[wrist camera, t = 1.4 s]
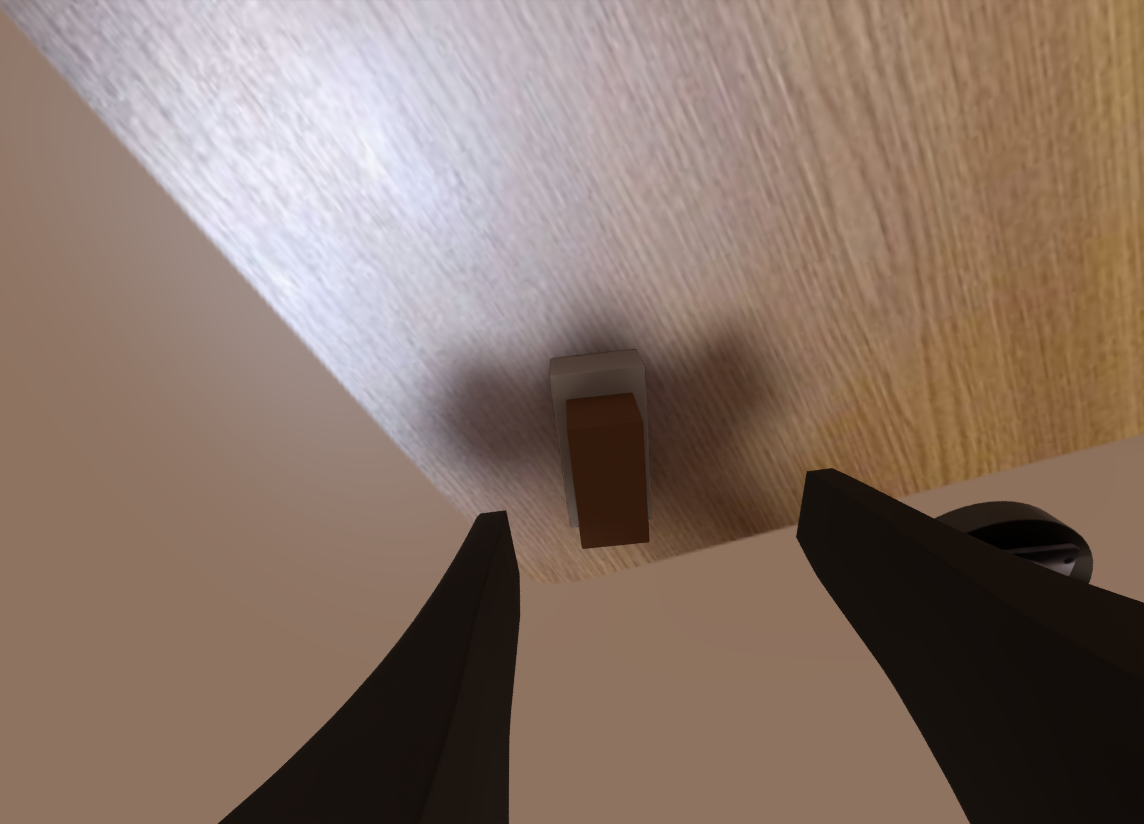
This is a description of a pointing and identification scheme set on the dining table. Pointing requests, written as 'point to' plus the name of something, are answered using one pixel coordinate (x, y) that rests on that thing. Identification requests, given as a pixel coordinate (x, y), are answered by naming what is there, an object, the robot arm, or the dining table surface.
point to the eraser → (604, 445)
